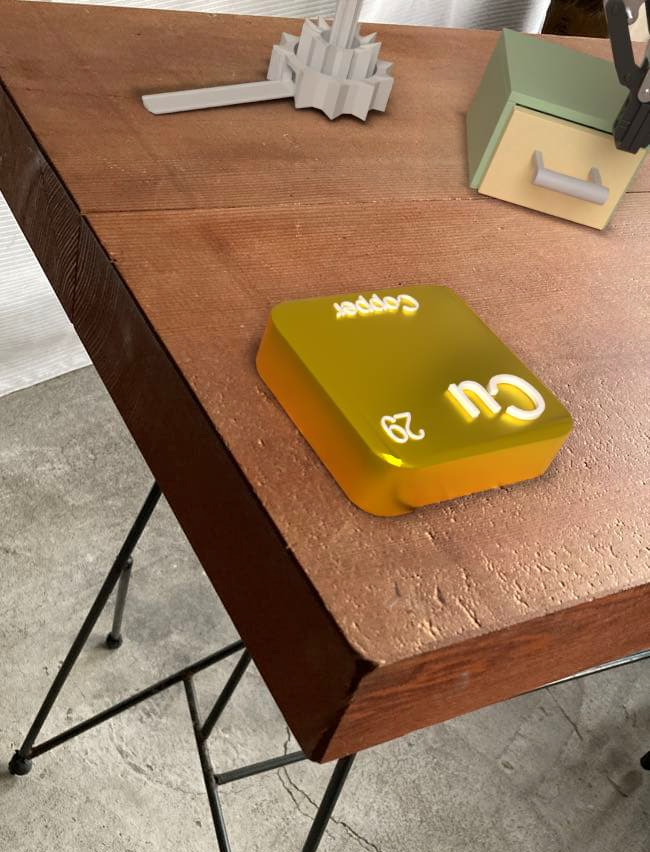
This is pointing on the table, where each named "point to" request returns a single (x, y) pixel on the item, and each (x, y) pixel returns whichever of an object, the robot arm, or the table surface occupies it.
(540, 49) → the cabinet
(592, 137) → the drawer
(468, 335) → the element tile
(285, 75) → the mechanical component
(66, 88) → the table surface
